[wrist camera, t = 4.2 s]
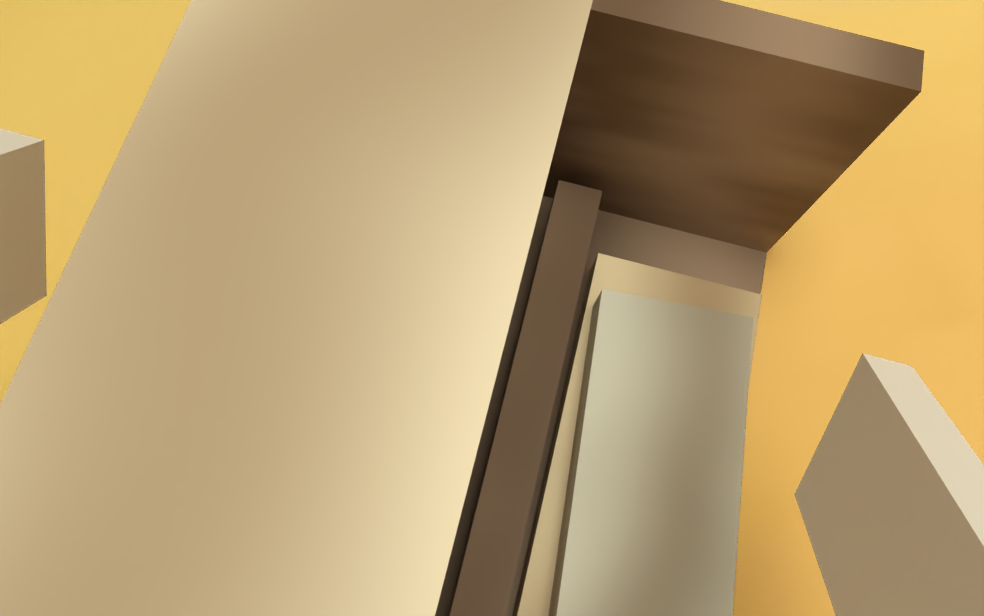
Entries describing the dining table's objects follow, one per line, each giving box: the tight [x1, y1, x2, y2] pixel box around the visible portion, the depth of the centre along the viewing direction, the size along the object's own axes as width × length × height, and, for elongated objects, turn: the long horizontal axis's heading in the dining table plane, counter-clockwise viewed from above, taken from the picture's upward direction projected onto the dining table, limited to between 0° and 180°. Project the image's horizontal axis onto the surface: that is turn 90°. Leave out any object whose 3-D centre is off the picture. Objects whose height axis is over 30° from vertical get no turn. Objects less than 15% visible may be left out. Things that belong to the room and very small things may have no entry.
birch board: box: [0, 0, 593, 616], centre depth 14 cm, size 4×12×15 cm, turn 166°
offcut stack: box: [512, 253, 762, 616], centre depth 20 cm, size 4×10×3 cm, turn 166°
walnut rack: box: [435, 0, 924, 616], centre depth 18 cm, size 12×15×9 cm
